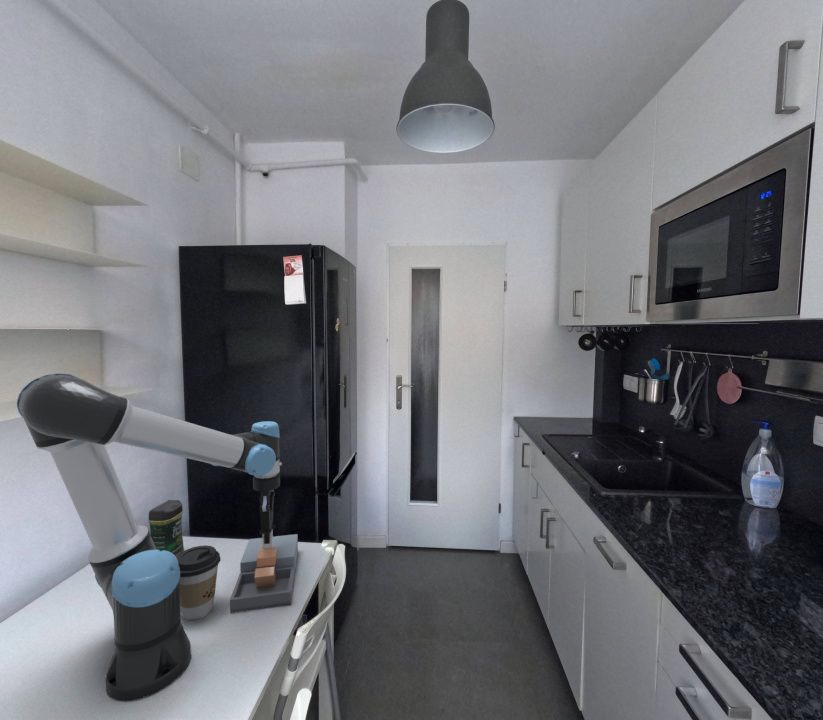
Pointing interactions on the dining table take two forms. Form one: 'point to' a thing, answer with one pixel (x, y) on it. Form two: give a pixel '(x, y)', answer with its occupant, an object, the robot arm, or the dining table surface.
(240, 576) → the box
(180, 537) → the coffee jar
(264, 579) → the tile front
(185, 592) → the coffee cup
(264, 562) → the tile rear
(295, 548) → the blue-grey square block
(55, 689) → the dining table surface
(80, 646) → the dining table surface
